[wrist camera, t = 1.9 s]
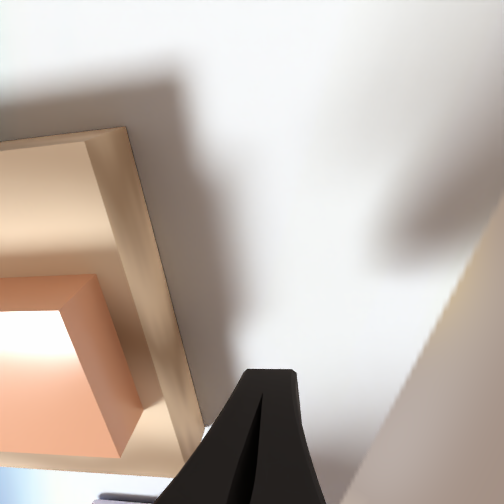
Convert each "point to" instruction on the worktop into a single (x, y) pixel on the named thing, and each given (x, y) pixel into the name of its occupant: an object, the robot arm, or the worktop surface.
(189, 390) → the wooden board
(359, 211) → the worktop surface
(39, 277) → the tile
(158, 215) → the worktop surface
